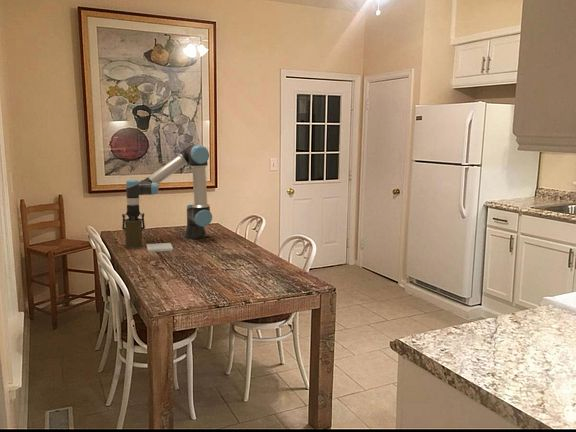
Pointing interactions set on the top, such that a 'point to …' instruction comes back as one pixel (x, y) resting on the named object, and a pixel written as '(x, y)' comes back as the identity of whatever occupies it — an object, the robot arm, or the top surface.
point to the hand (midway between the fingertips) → (133, 240)
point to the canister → (133, 232)
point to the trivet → (159, 247)
